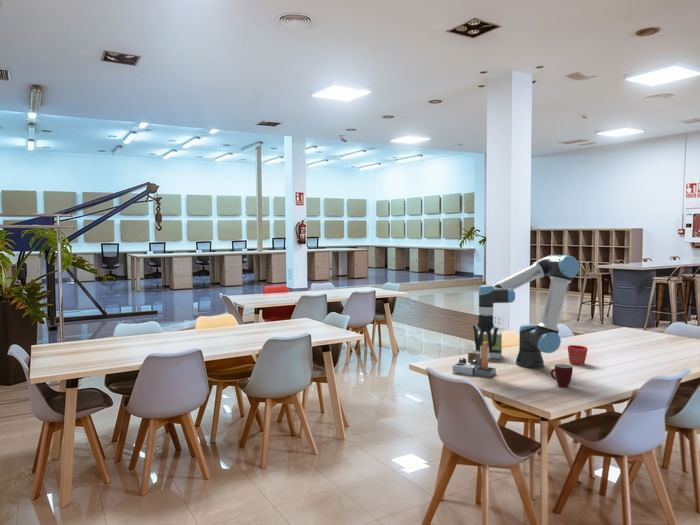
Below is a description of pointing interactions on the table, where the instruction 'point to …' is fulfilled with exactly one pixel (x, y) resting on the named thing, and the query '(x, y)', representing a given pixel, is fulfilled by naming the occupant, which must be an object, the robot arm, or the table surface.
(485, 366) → the stop pin
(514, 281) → the robot arm
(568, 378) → the mug
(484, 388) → the table surface
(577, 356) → the flower pot
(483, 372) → the pin tray
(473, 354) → the chock block
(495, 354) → the retro computer monitor
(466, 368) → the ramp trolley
